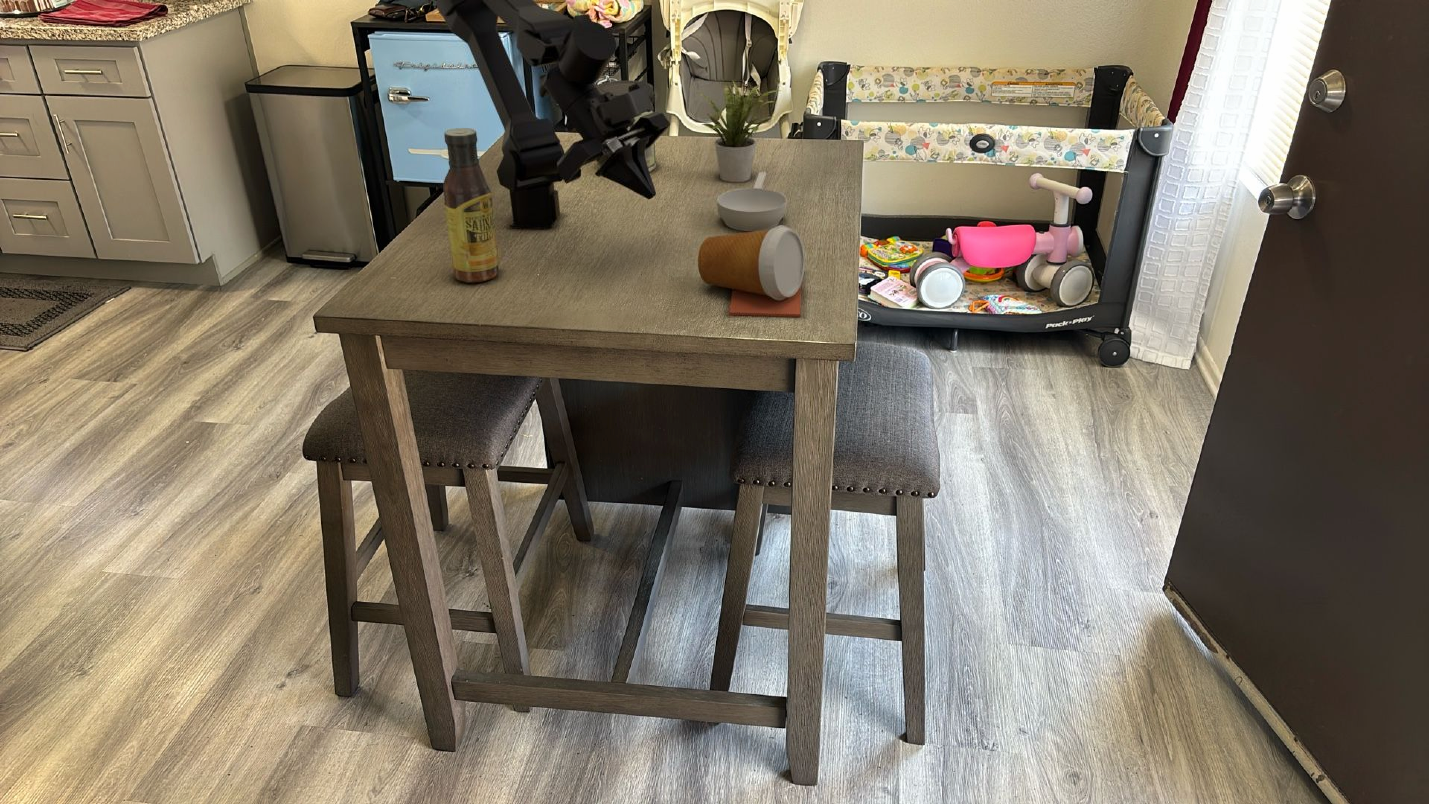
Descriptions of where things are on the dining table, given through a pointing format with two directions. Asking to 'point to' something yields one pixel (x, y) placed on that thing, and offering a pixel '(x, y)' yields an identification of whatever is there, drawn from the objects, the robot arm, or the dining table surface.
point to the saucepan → (752, 207)
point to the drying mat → (764, 304)
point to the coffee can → (619, 89)
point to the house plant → (736, 134)
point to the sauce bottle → (469, 210)
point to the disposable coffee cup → (755, 262)
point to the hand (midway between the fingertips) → (652, 196)
